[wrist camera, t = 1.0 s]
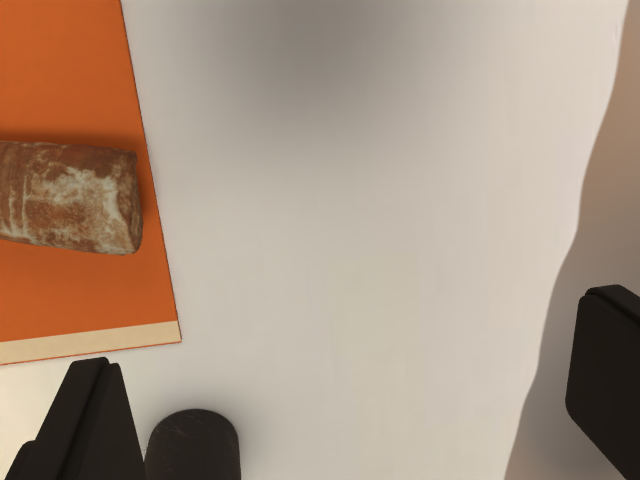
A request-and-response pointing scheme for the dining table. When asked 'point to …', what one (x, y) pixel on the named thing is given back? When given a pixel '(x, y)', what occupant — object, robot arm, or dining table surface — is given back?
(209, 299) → the dining table surface
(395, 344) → the dining table surface
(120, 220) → the bread
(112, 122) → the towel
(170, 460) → the travel mug
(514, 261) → the dining table surface
